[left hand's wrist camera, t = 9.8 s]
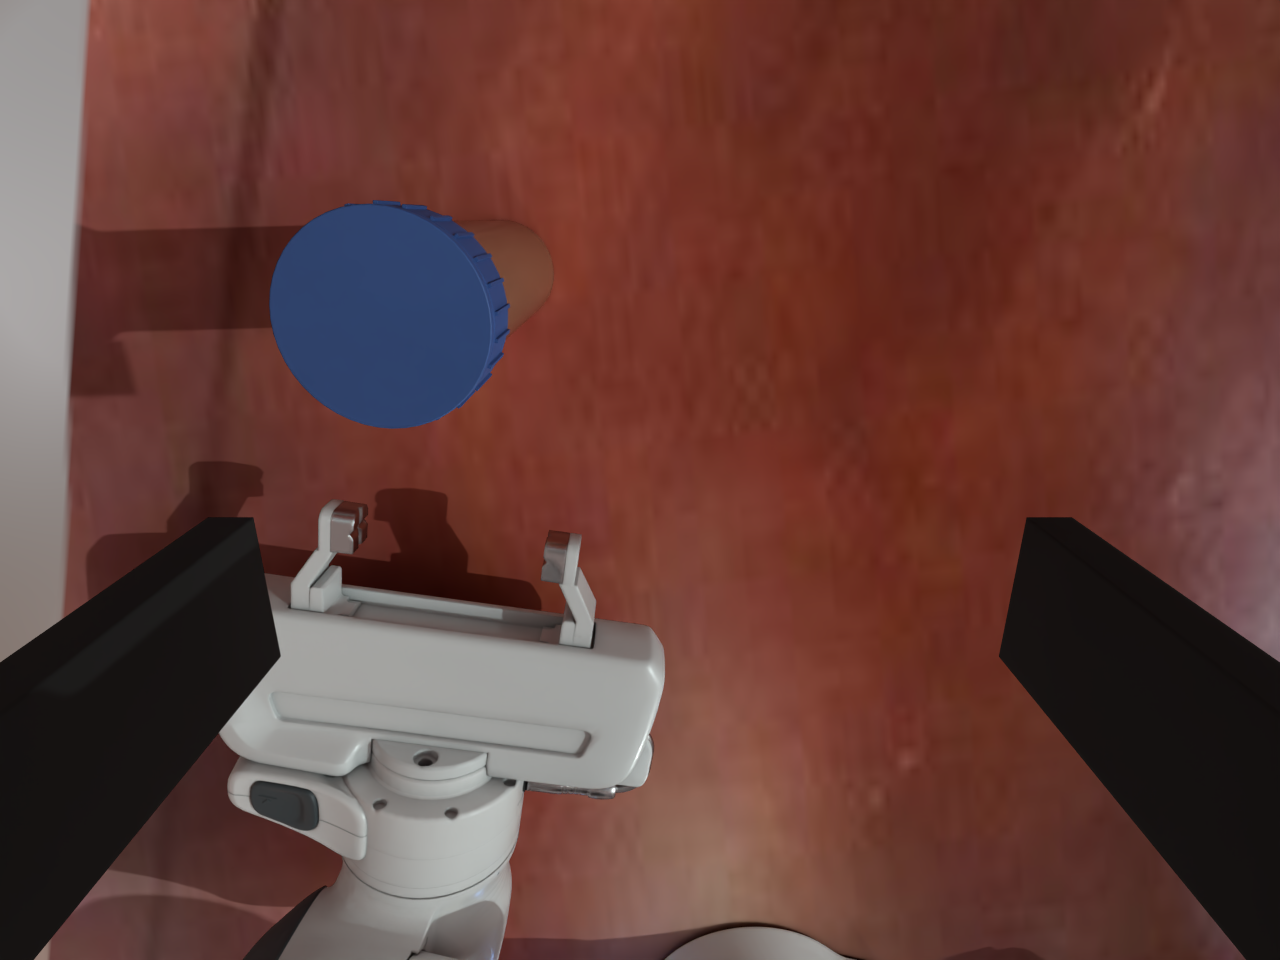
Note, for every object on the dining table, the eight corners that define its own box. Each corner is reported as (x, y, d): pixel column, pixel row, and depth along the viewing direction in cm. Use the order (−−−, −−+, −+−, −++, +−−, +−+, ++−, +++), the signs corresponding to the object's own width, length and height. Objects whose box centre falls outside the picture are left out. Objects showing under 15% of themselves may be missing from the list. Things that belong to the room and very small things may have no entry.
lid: (543, 367, 20) (531, 386, 18) (369, 435, 21) (336, 462, 19) (457, 169, 18) (432, 162, 16) (269, 249, 19) (220, 254, 17)
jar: (569, 300, 34) (509, 372, 18) (481, 335, 34) (350, 434, 19) (529, 204, 32) (428, 191, 17) (438, 242, 33) (258, 264, 17)
